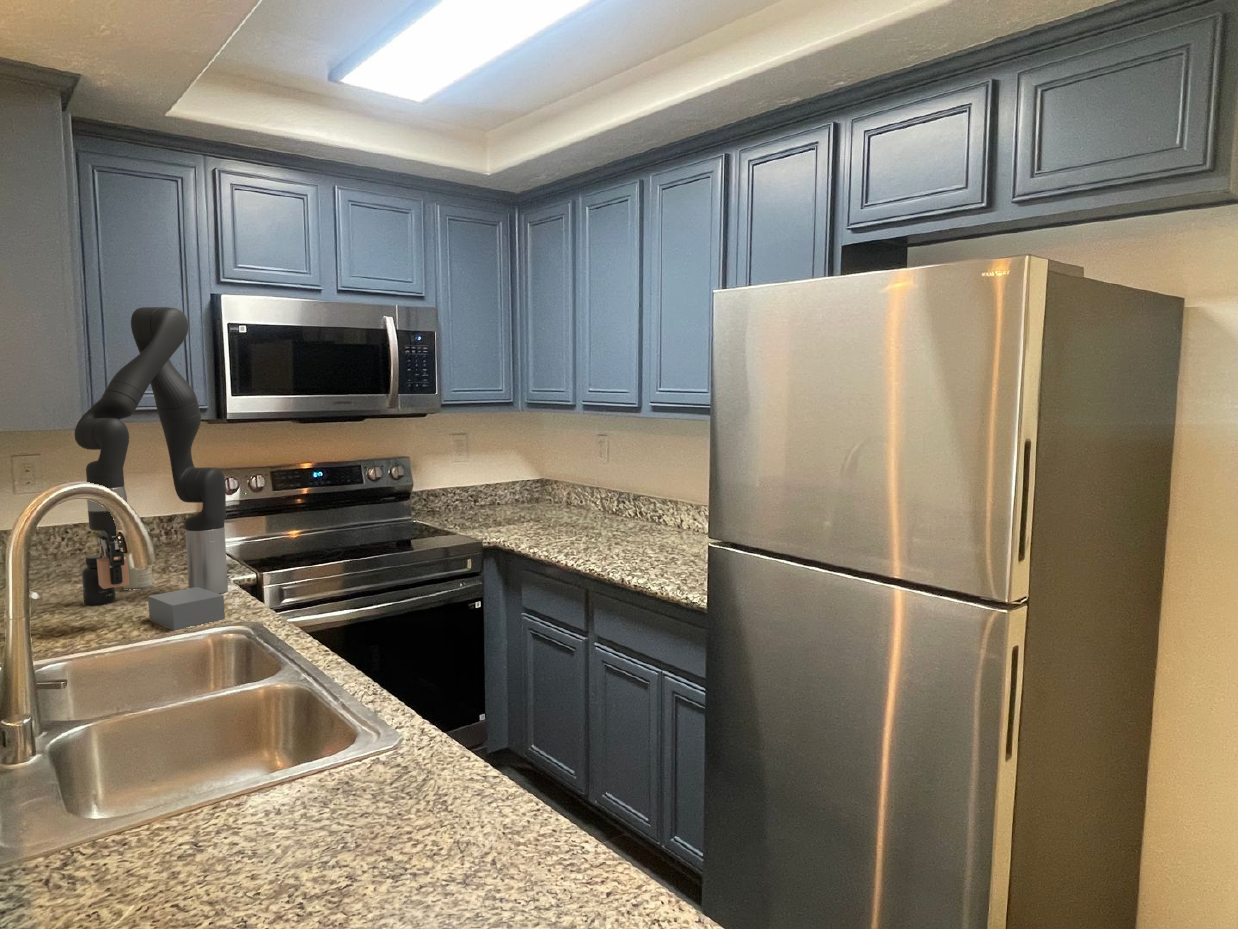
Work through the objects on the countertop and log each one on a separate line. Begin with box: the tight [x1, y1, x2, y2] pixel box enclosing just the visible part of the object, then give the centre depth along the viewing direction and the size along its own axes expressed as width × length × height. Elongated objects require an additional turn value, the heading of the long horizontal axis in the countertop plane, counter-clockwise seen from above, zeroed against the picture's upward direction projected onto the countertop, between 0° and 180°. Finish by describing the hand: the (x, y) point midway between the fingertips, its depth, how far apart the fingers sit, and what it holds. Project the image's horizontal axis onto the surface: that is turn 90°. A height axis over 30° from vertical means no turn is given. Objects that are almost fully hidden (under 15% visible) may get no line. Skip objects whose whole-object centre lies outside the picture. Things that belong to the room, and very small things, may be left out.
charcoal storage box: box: [147, 587, 226, 632], centre depth 185 cm, size 14×11×6 cm
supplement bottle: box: [81, 554, 116, 607], centre depth 202 cm, size 7×7×12 cm
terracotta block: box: [97, 557, 129, 589], centre depth 180 cm, size 5×5×6 cm
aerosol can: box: [122, 524, 153, 590], centre depth 217 cm, size 7×7×20 cm
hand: (113, 581), depth 180 cm, fingers closed on terracotta block, 5 cm apart
